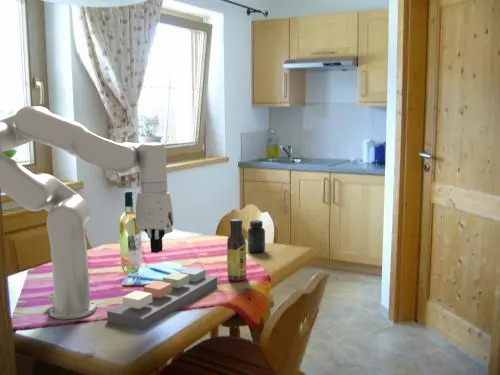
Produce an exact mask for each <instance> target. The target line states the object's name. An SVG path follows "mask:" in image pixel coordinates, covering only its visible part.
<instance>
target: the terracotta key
mask: <svg viewBox="0 0 500 375" xmlns="http://www.w3.org/2000/svg"><path fill="white" fill-rule="evenodd" d="M143 292H147V293H152V296H153V297H158V298H161V297H163V296H164V295H166V294H168V293H170V292H172V284H171V283H165V282H163V281H159V280H155V281H152V282H151V283H148V284H147V285H144V286H143Z"/></svg>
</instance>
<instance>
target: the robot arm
mask: <svg viewBox="0 0 500 375" xmlns="http://www.w3.org/2000/svg"><path fill="white" fill-rule="evenodd" d="M33 141H34V142H37V143H40V144H43V145H46V146H49V147H51V148H54V149H57V150H59V151H62V152H64V153H66V154H67V153H68V154H70V155H71V156H73V157H76V159H79V160H82V161H84V162H86V163H89V164H91V165H93V166H96V167H99V168H102V169H104V170H107V171H110V172H114V173H117V174H124V173H128V172H129V171H131V170H132V169H136V168H138V177H139V182H137V185H136V186H137V188H139V192H137V196H136V203H135V224H136V226H137V227H138V228H139V230H140V231H141V232H145V233H146V235H147V237H148V239H149V241H150V253H152V254H153V253H154V254H158V253H160V252H162V251H163V238H164V237H165V235H166V234H171V233H172V232H173V225H174V212H173V211H174V209H173V203H172V199H171V194H170V192H168V174H167V173H168V172H167V152H166V146H165V145H164V143H161V142H144V143H143V142H142V143H134V142H120V143H118V142H115V141H113V140H109V139H106V138H104V137H101V136H98V135H97V134H95V133H93V132H92V131H89V130H88V129H87V128H86V127H85V126H84V125H82V124H80V123H79V122H77V121H73V120H71V119H68V118H65V117H62V116H61V115H57V114H54V113H52V112H51V111H50V110H49V109H48V108H46V107H43V106H40V105H39V106H38V105H28V106H23V107H21V108H20V109H19V110H17V112H16V113H15V114H14V115H12V116H9V117H7V118H3V119H1V120H0V188H1V190H0V191H1V192H2V193H3V194H5V195H6V196H8V197H9V198H11V199H12V200H14V201H15V202H16V203H17V204H19V205H20V206H21V207H23V208H24V209H26V211H27V210H28V211H29V212H39V211H42V210H45V212H46V213H48V214H47V217H46V230H47V236H48V240H49V245H50V246H49V247H50V258H51V267H52V269H51V270H52V283H53V291H52V292H51V293H50V295H49V296H48V297H47V298H46V301H47V302H52V306H51V307H50V309H49V315H50V317H52V318H54V319H58V320H73V319H74V320H75V319H80V318H84V317H87V316H89V315H91V314H93V313H94V312H95V311H96V310H97V303H96V302H95V301H93V300H91V291H90V290H91V289H90V276H89V274H90V272H89V261H88V260H89V258H88V248H87V240H86V239H87V238H86V232H85V226H86V224H87V223H88V222H89V220H90V218H91V215H92V214H91V213H92V210H91V207H90V204H89V202H88V201H87V200H86V199H85V198H84V197H83V196H81V195H80V194H79V193H78V192H76V191H75V190H74V189H72V188H71V187H69V186H68V185H66V184H65V183H64V182H62V181H61V180H60V179H59V178H57V177H55V176H54V175H51V174H50V173H49V174H48V173H44V172H41V173H36V174H35V173H33V172H31V171H30V170H28V168H26V167H24V165H22V164H21V163H19V162H18V161H16V160H15V159H13V158H11V157H9V156H8V155H6V154H5V153H4V152H7V151H10V150H13V149H15V148H17V147H21V146H23V145H26V144H28V143H31V142H33Z"/></svg>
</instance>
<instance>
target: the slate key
mask: <svg viewBox="0 0 500 375" xmlns="http://www.w3.org/2000/svg"><path fill="white" fill-rule="evenodd" d="M179 273H182V274H188V275H189V281H192V282H197V281H199V280H201V279H202V278H204V277H205V276H206V269H203V268H197V267H192V266H191V267H188V268H186V269H184V270H182V271H180V272H179Z"/></svg>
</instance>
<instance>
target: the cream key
mask: <svg viewBox="0 0 500 375" xmlns="http://www.w3.org/2000/svg"><path fill="white" fill-rule="evenodd" d="M151 302H152V293H147V292H144V291H142V290H133V291H132V292H129V293H127V294H125V295H123V296H122V304H123V306H128V307H133V308H138V309H140V308H142V307H144V306H146V305H147V304H149V303H151Z"/></svg>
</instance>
